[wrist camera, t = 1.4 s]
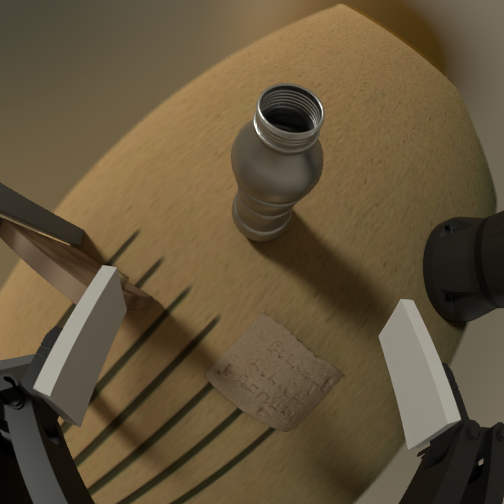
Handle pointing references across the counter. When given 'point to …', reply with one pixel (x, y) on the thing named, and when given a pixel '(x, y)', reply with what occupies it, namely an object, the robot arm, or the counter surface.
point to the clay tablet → (273, 375)
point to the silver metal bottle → (276, 160)
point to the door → (64, 265)
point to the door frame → (46, 222)
